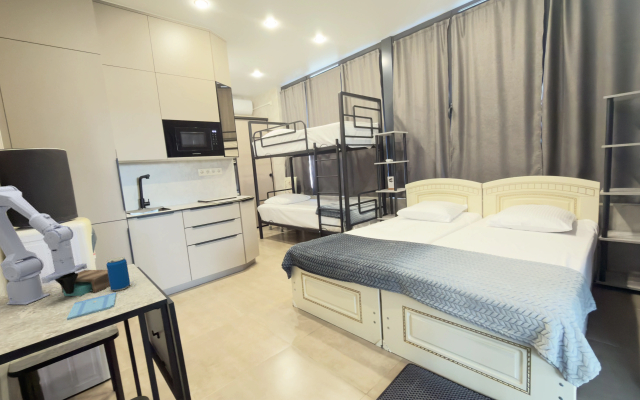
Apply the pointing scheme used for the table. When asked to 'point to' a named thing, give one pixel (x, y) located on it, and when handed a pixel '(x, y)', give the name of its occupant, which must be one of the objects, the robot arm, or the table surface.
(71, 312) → the light blue flat pad
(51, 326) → the table surface
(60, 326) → the table surface
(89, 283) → the teal slab tile
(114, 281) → the beverage can
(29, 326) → the table surface
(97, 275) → the wooden box
